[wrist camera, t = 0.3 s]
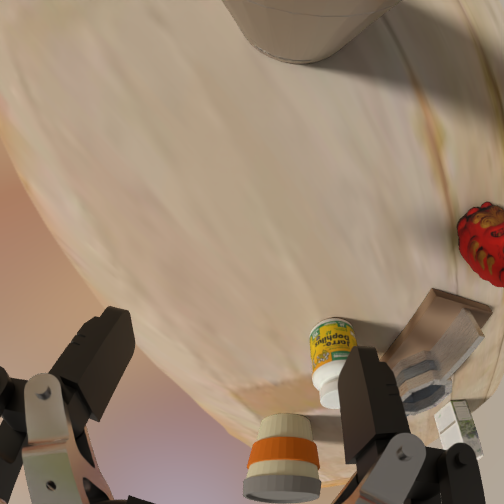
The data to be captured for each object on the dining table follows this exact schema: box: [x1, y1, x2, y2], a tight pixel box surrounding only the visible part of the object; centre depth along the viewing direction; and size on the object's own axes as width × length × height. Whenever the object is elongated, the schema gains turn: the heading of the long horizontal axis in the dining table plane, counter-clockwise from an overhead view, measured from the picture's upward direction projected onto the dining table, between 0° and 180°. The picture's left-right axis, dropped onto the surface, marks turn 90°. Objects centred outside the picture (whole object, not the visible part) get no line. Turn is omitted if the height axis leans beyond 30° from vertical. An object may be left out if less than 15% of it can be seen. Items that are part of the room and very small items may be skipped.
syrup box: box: [434, 400, 483, 460], centre depth 36 cm, size 6×6×14 cm
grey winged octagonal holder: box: [392, 308, 485, 417], centre depth 31 cm, size 24×8×5 cm, turn 165°
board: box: [340, 288, 492, 412], centre depth 34 cm, size 25×12×2 cm, turn 165°
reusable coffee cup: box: [243, 414, 321, 504], centre depth 39 cm, size 12×12×15 cm
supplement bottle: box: [310, 318, 357, 409], centre depth 29 cm, size 5×5×10 cm
